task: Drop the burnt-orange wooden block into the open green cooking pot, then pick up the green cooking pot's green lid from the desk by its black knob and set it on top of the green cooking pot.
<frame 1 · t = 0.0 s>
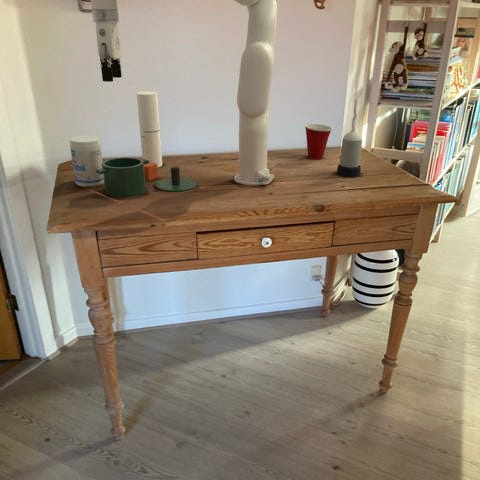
hand: (112, 79, 165), 31 cm above the table, tool pointing down, fingers open, 9 cm apart
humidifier: (348, 174, 187), on the table
plastic cup: (316, 158, 206), on the table
supplement tub: (90, 184, 175), on the table
lid: (176, 185, 172), point 1 cm above the table
green cooking pot: (126, 192, 167), on the table
block: (147, 179, 180), on the table
cylindrical container: (152, 165, 195), on the table
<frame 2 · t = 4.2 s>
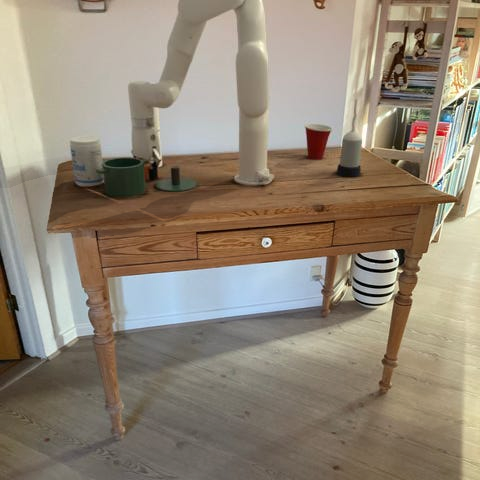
hand: (147, 177, 180), 1 cm above the table, tool pointing down, fingers closed on block, 6 cm apart
block: (147, 179, 180), on the table, touching gripper
everything else where it was.
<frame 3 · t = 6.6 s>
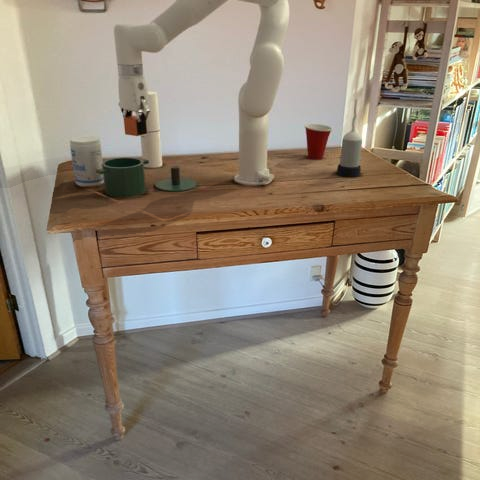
hand: (136, 132, 167), 17 cm above the table, tool pointing down, fingers closed on block, 6 cm apart
block: (136, 133, 168), point 16 cm above the table, touching gripper
everything else where it was.
when the fingers open (10 cm above the table, at t = 9.3 s): block drops 9 cm, resting on green cooking pot.
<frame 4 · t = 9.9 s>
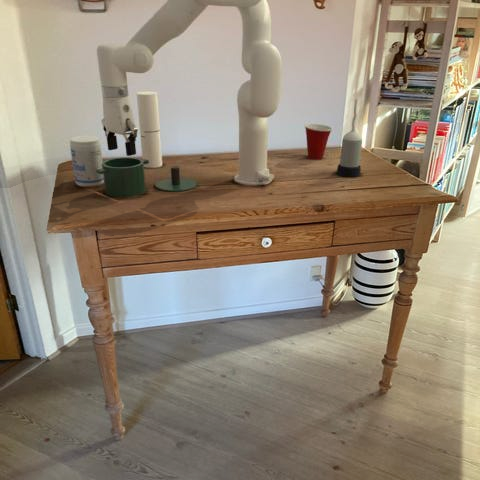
hand: (122, 152, 161), 13 cm above the table, tool pointing down, fingers open, 9 cm apart
block: (125, 190, 167), point 1 cm above the table, touching green cooking pot
everything else where it was.
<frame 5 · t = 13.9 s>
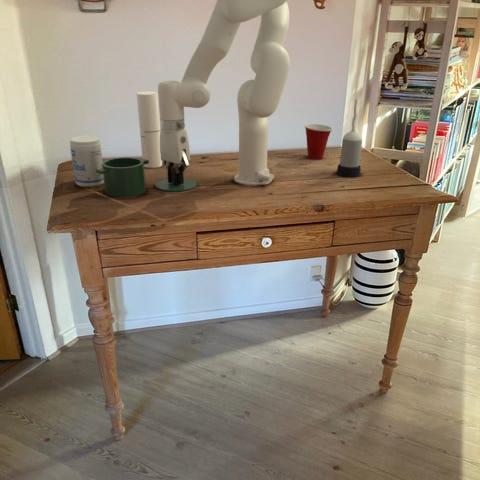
hand: (175, 182, 172), 2 cm above the table, tool pointing down, fingers closed on lid, 2 cm apart
lid: (176, 185, 172), point 1 cm above the table, touching gripper
everything else where it was.
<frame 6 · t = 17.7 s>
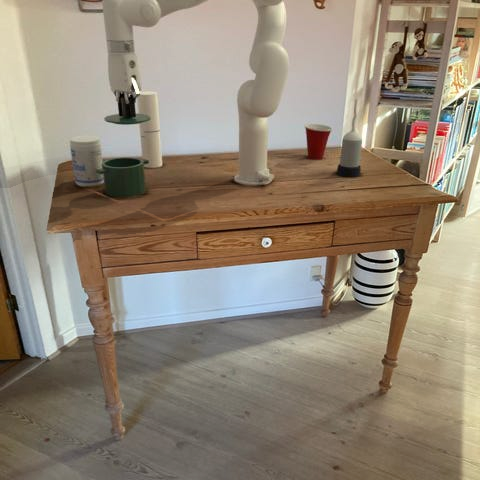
hand: (127, 116, 156), 23 cm above the table, tool pointing down, fingers closed on lid, 2 cm apart
lid: (127, 119, 157), point 22 cm above the table, touching gripper
everything else where it was.
when the fingers open (10 cm above the table, at t = 21.7 s): lid stays where it is, resting on green cooking pot.
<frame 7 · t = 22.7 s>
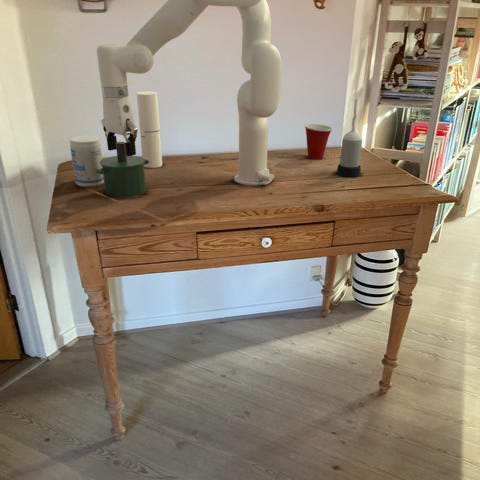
hand: (121, 152, 161), 13 cm above the table, tool pointing down, fingers open, 9 cm apart
lid: (122, 162, 162), point 9 cm above the table, touching green cooking pot
everything else where it was.
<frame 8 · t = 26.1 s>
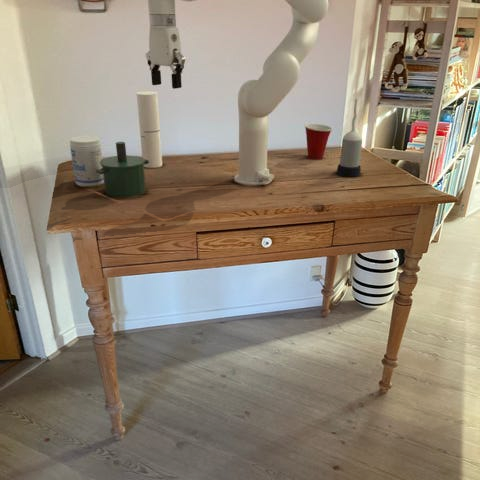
hand: (166, 86, 159), 30 cm above the table, tool pointing down, fingers open, 9 cm apart
nothing on the table moved.
at the end: block inside the target area in the green cooking pot (0.0 cm from its centre), point 0.5 cm above the green cooking pot's base; lid 0.1 cm off-centre on the green cooking pot, point 9.5 cm above the green cooking pot's base; lid tilted 0° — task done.
